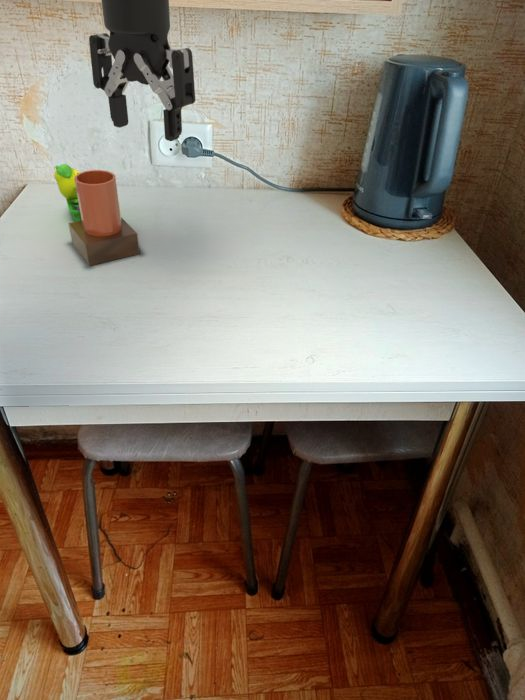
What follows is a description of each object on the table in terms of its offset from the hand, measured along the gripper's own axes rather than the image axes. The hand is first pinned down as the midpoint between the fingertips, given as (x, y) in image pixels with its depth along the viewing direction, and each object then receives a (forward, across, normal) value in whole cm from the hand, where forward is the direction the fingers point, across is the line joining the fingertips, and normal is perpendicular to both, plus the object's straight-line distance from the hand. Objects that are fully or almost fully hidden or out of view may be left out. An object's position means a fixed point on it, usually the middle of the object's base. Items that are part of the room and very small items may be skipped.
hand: (146, 132), depth 67 cm
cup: (+20, -16, +5) cm, 26 cm away
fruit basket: (+24, -26, +11) cm, 37 cm away
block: (+24, -16, +5) cm, 29 cm away
